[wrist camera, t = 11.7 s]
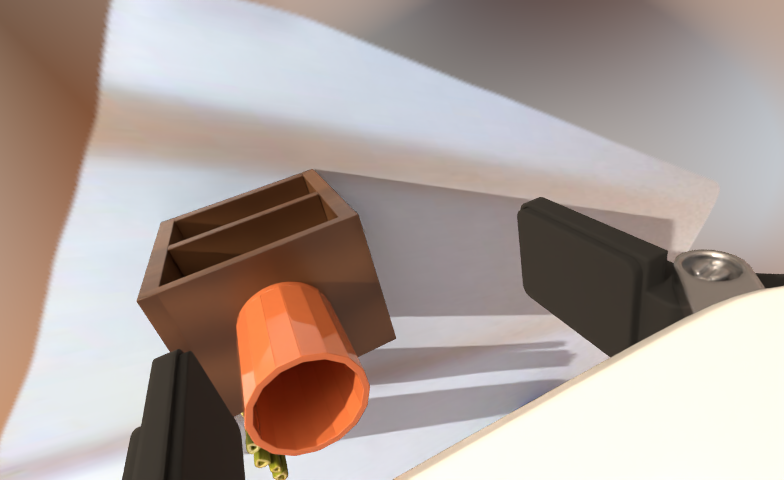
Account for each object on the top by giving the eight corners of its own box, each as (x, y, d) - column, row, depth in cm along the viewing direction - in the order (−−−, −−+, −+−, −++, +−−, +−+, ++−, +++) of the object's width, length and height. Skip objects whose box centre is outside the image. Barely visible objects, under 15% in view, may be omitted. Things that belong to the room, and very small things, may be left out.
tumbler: (219, 306, 26) (222, 392, 19) (315, 266, 27) (350, 333, 21) (258, 378, 29) (273, 475, 22) (343, 338, 30) (381, 417, 24)
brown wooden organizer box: (160, 222, 36) (136, 301, 24) (313, 168, 39) (358, 214, 27) (215, 319, 41) (217, 424, 29) (346, 264, 44) (396, 338, 32)
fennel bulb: (231, 358, 43) (238, 449, 33) (279, 349, 45) (300, 433, 35) (236, 402, 45) (244, 500, 35) (282, 391, 47) (302, 482, 37)
